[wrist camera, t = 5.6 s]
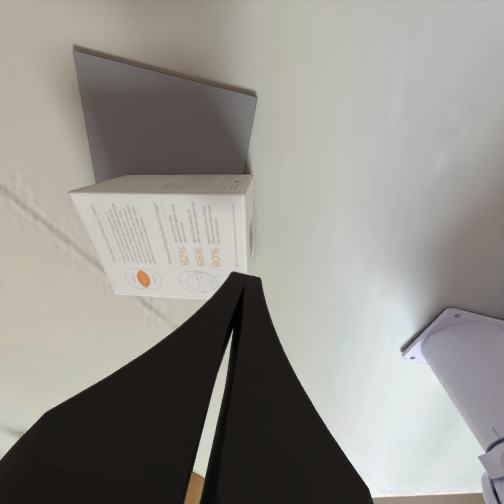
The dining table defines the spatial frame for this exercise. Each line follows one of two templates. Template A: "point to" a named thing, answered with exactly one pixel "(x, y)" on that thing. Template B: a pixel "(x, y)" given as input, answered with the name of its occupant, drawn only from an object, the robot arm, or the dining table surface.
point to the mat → (160, 122)
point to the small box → (170, 231)
